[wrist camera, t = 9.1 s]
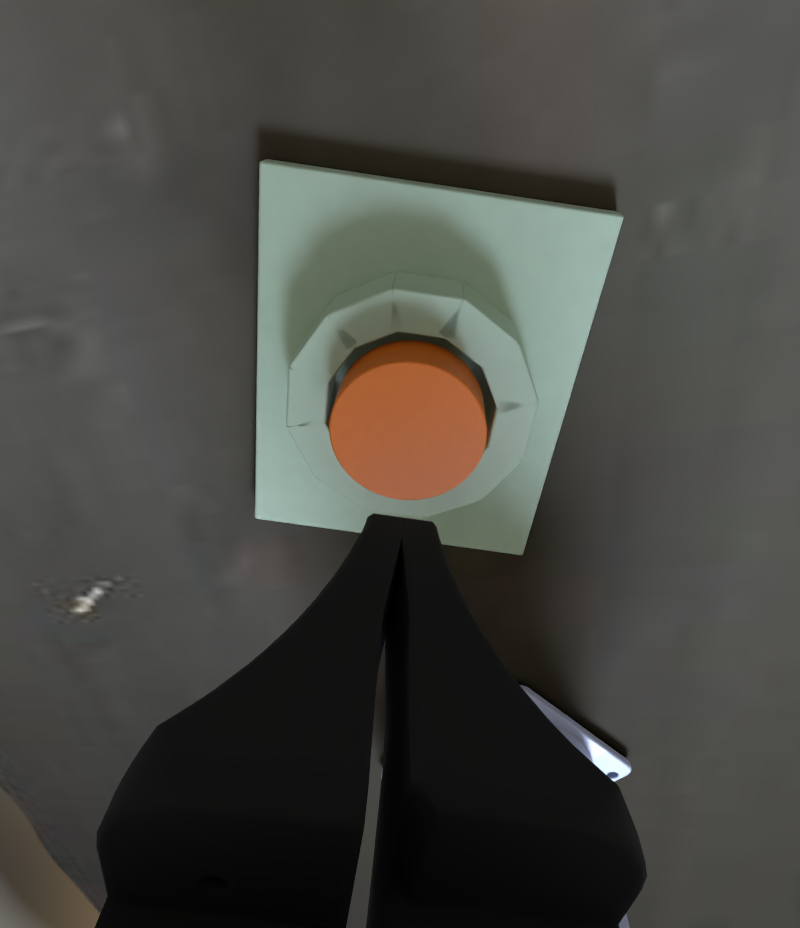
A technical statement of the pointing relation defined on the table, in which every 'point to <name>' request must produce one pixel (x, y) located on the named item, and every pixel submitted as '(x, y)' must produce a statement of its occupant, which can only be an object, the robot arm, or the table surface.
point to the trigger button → (408, 420)
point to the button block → (418, 333)
